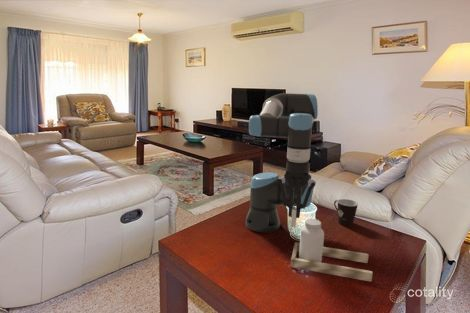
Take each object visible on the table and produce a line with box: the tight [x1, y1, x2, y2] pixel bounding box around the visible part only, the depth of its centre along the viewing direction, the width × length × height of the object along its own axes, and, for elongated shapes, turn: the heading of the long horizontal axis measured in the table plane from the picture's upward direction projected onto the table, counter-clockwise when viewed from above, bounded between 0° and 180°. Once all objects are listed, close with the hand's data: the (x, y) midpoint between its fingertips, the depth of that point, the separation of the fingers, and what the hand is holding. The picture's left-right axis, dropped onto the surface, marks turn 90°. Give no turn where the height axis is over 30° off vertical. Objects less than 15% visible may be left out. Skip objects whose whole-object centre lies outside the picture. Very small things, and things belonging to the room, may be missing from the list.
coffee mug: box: [333, 198, 359, 227], centre depth 142 cm, size 12×9×10 cm
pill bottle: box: [298, 218, 325, 263], centre depth 109 cm, size 8×8×15 cm
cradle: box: [290, 241, 373, 283], centre depth 108 cm, size 26×12×3 cm, turn 73°
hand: (293, 225), depth 109 cm, fingers closed
